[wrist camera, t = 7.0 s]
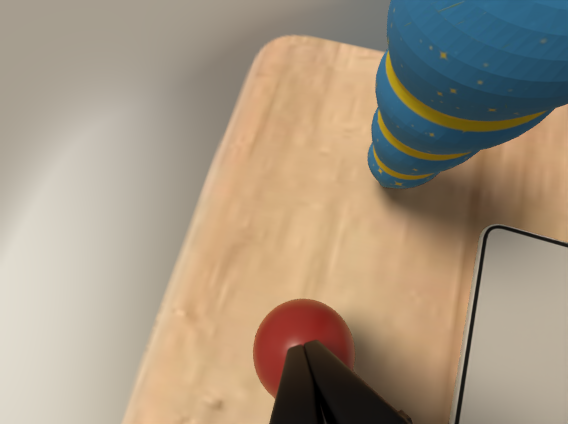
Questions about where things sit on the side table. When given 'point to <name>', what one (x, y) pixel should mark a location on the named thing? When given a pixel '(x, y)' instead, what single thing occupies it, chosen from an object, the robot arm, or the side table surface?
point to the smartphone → (515, 332)
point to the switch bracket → (405, 416)
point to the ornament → (463, 81)
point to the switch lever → (298, 337)
